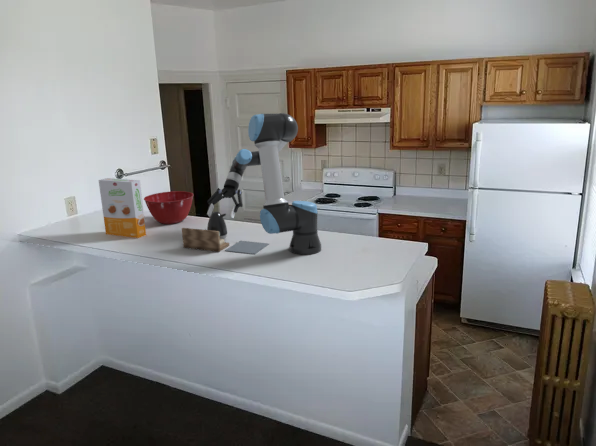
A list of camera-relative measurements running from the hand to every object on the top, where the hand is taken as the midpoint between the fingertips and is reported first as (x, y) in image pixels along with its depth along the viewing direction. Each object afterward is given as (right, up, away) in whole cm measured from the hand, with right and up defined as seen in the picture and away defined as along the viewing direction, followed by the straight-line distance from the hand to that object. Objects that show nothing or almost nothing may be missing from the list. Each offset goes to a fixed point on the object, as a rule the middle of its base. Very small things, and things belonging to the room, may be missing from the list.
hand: (219, 216), depth 240 cm
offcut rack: (-5, -15, -11) cm, 19 cm away
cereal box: (-53, -10, +12) cm, 56 cm away
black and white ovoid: (-1, -13, -1) cm, 13 cm away
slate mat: (+16, -15, -14) cm, 26 cm away
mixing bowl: (-35, -3, +38) cm, 52 cm away
